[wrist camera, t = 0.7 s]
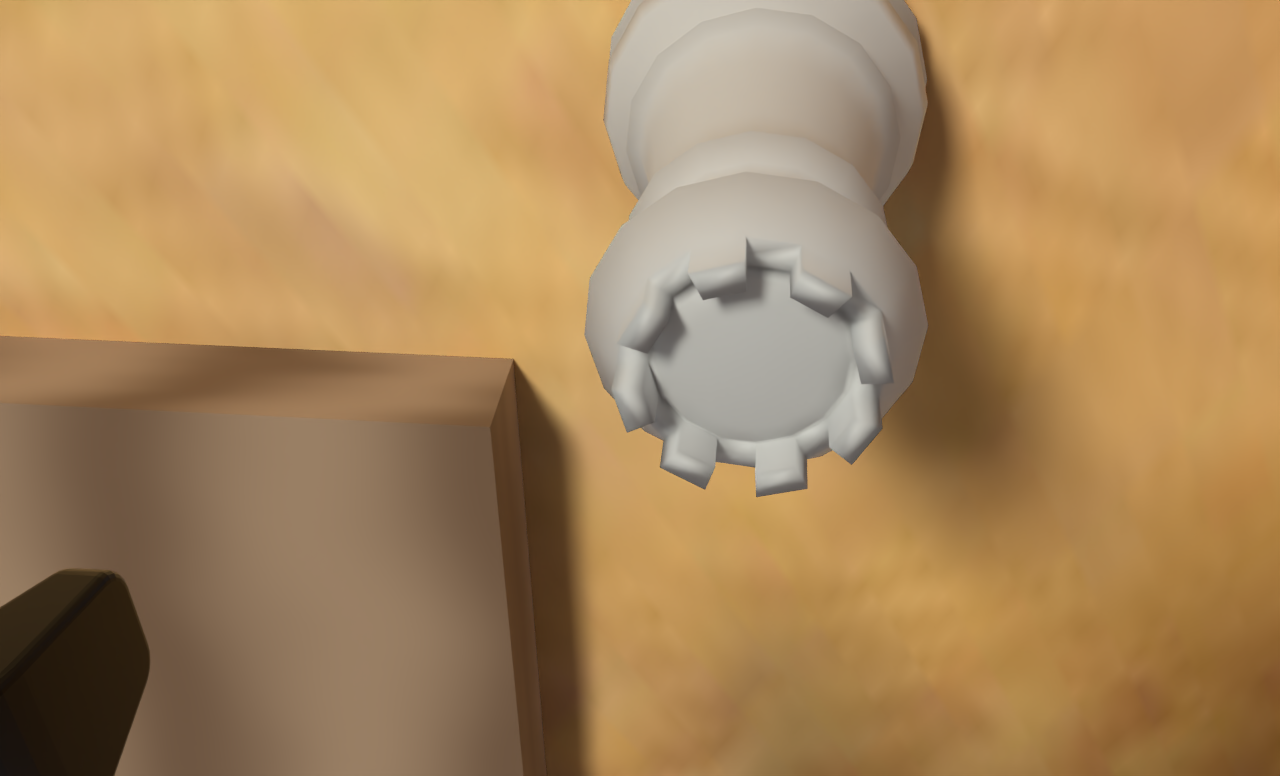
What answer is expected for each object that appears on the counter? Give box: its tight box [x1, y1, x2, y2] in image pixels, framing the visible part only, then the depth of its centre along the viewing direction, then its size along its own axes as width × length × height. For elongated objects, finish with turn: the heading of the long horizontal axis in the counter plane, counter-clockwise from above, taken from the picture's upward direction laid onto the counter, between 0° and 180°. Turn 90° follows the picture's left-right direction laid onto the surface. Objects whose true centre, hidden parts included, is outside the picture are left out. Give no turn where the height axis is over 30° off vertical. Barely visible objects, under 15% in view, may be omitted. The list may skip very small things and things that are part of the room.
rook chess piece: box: [585, 0, 928, 497], centre depth 14 cm, size 4×4×8 cm
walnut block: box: [0, 336, 547, 776], centre depth 24 cm, size 12×12×2 cm
